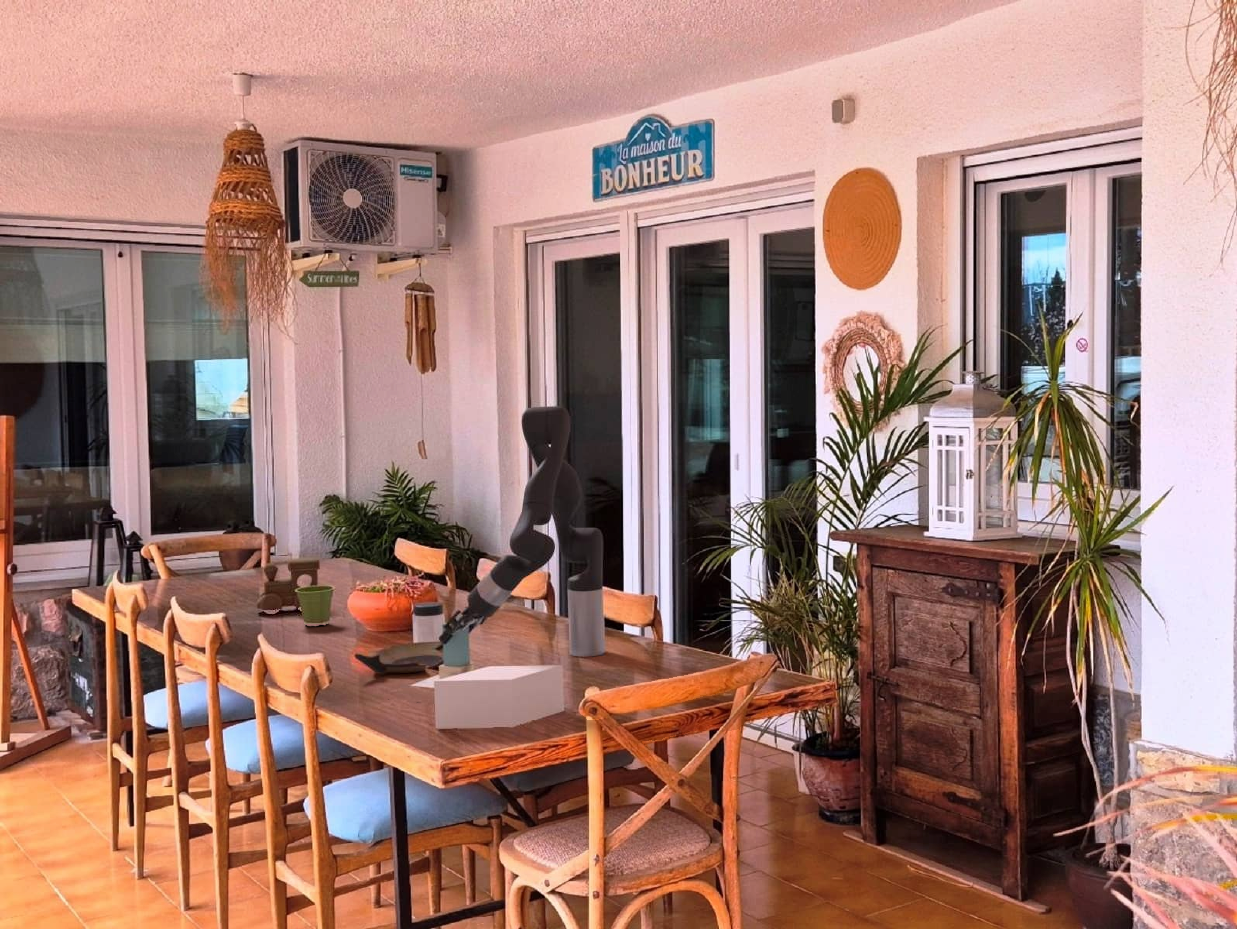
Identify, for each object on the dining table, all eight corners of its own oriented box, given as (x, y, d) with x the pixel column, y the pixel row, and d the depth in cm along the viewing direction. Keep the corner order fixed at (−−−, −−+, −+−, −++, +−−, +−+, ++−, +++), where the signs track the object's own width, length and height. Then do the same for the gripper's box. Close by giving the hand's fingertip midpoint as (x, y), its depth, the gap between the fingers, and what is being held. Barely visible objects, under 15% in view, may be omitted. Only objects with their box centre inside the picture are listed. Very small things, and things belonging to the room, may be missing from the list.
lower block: (453, 677, 318) (452, 660, 318) (474, 678, 316) (473, 662, 316) (439, 682, 313) (438, 665, 313) (460, 684, 310) (460, 667, 310)
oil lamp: (477, 671, 329) (476, 641, 328) (362, 688, 314) (361, 657, 313) (442, 656, 348) (441, 628, 348) (332, 672, 333) (331, 642, 333)
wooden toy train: (319, 606, 434) (317, 556, 432) (322, 611, 423) (320, 560, 422) (257, 611, 428) (254, 560, 427) (258, 616, 417) (255, 564, 416)
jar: (410, 650, 356) (408, 607, 356) (417, 644, 364) (415, 601, 364) (442, 650, 356) (440, 606, 355) (449, 644, 364) (447, 601, 363)
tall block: (454, 661, 317) (452, 620, 317) (470, 662, 315) (468, 621, 315) (443, 665, 313) (442, 623, 313) (459, 666, 311) (458, 625, 311)
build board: (448, 675, 325) (447, 671, 325) (503, 680, 318) (503, 676, 318) (410, 689, 311) (409, 685, 311) (467, 695, 304) (467, 690, 304)
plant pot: (295, 623, 403) (294, 587, 402) (335, 620, 406) (333, 584, 405) (297, 630, 392) (295, 592, 391) (337, 627, 395) (336, 590, 394)
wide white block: (576, 718, 281) (575, 671, 280) (446, 737, 268) (444, 688, 268) (551, 704, 294) (550, 658, 293) (425, 721, 282) (424, 674, 281)
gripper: (497, 576, 316) (458, 621, 322) (464, 585, 303) (425, 632, 309) (516, 599, 314) (477, 644, 320) (484, 610, 301) (444, 656, 307)
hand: (451, 638), depth 314 cm, fingers open, 8 cm apart
